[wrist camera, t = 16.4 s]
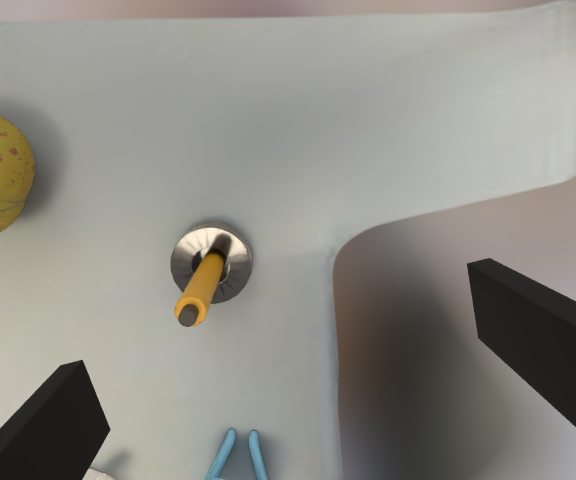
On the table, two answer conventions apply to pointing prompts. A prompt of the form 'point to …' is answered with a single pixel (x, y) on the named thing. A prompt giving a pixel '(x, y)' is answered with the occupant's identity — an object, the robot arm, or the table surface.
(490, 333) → the robot arm
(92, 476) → the mug
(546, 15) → the table surface
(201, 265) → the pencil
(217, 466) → the chair
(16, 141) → the fruit
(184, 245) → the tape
